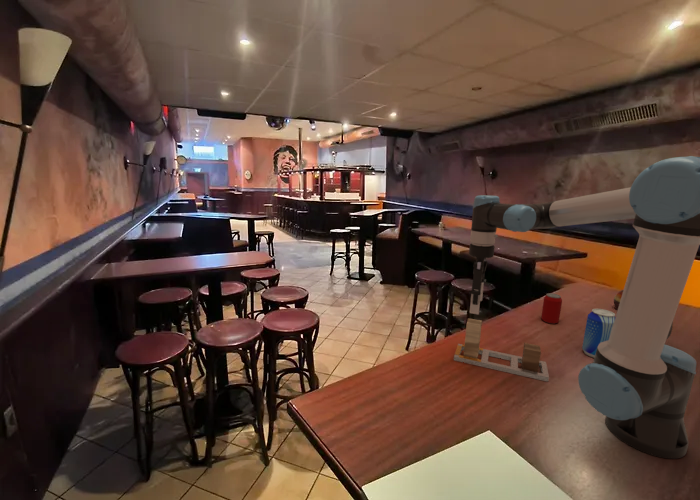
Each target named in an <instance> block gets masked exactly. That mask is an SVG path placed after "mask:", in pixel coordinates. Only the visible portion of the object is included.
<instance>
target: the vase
mask: <svg viewBox="0 0 700 500" xmlns="http://www.w3.org/2000/svg"><path fill="white" fill-rule="evenodd" d="M623 290H624V289H622V290H619V291H618V292H616V294H615V295H614V298H613V305H614V308H615V309H616V310H618V307H619V304H620V300H621V297H622V294H623Z"/></svg>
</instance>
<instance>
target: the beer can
mask: <svg viewBox="0 0 700 500" xmlns="http://www.w3.org/2000/svg"><path fill="white" fill-rule="evenodd" d="M615 317H616V313H614V312H613V311H611V310H607V309H605V308H604V309H603V308H592V310H591V311H590V313H589V314H588V315H587V318H586V323H585V328H584V329H585V330H584V333H583V334H584V335H583V340H582V341H583V342H582V347H581V348H582V350H583V353H584V354H585V355H586V356H589V357H590V358H593V359H594V358H595V354H596V351H597V347H598V345H599V344H600V343H601V342H604V341H607V340H609V337H610V334H611V331H612V327H613V324H614V321H615Z"/></svg>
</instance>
